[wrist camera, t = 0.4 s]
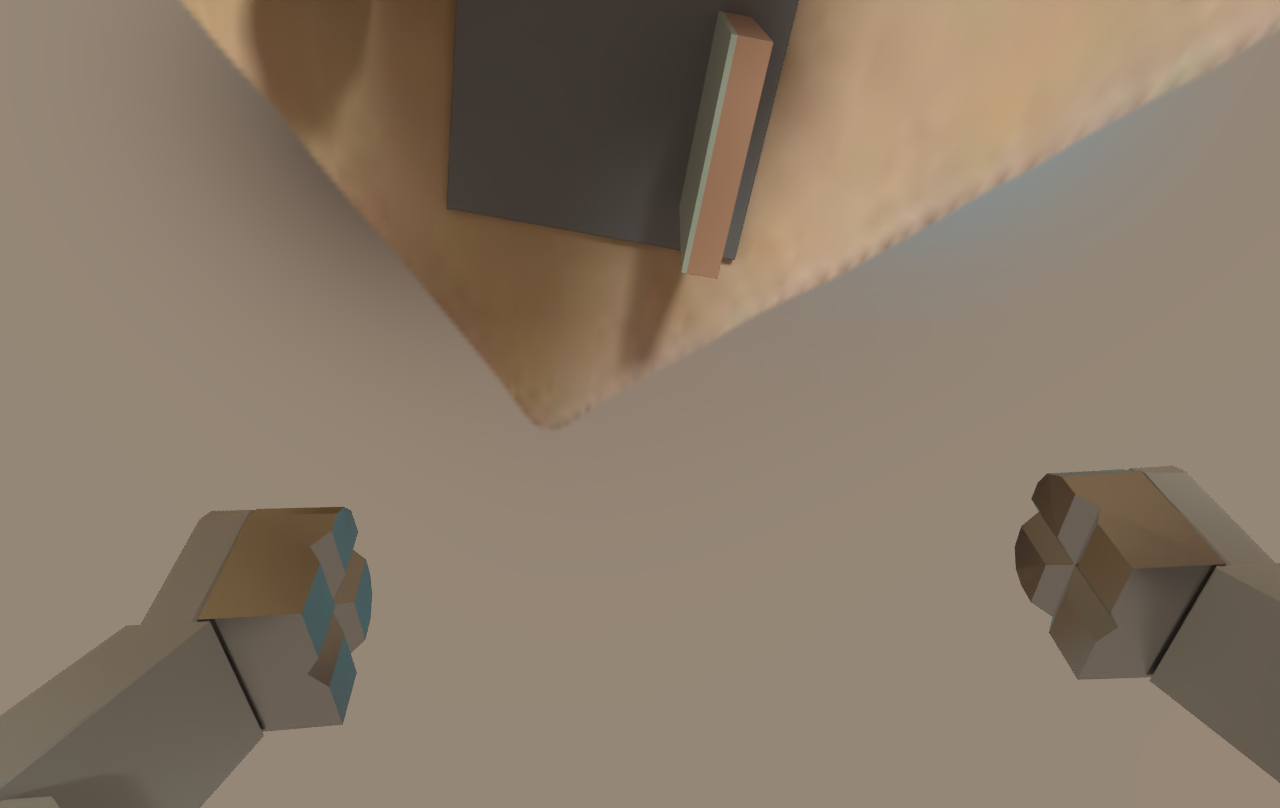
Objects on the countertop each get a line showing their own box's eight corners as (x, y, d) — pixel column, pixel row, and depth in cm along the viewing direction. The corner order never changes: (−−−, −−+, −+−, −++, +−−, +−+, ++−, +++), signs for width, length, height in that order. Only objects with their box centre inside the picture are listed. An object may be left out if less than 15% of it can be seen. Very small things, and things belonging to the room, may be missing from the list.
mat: (463, -100, 46) (461, -101, 45) (804, -32, 47) (806, -32, 46) (448, 205, 55) (446, 208, 54) (734, 256, 56) (734, 259, 55)
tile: (718, 10, 48) (731, 34, 37) (751, 17, 48) (773, 42, 37) (679, 206, 54) (681, 272, 43) (708, 211, 54) (717, 279, 44)
